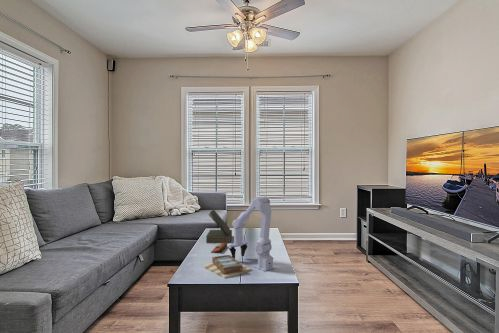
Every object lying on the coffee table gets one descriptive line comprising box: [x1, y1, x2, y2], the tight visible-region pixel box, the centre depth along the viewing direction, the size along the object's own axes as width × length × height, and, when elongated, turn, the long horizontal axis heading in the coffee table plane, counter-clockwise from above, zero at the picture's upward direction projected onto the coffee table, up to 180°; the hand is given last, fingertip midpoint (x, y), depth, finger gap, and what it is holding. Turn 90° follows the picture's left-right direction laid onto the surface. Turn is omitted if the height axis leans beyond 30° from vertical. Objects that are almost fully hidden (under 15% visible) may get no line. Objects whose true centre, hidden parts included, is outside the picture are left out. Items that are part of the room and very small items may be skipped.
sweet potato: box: [210, 243, 228, 254], centre depth 222 cm, size 18×7×7 cm
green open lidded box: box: [205, 209, 233, 244], centre depth 251 cm, size 23×20×25 cm
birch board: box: [202, 262, 252, 279], centre depth 182 cm, size 24×20×1 cm
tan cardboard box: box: [211, 254, 244, 274], centre depth 182 cm, size 22×12×4 cm, turn 24°
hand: (238, 257), depth 198 cm, fingers open, 7 cm apart
